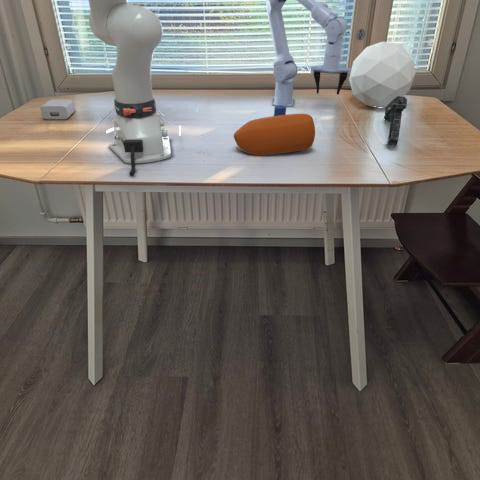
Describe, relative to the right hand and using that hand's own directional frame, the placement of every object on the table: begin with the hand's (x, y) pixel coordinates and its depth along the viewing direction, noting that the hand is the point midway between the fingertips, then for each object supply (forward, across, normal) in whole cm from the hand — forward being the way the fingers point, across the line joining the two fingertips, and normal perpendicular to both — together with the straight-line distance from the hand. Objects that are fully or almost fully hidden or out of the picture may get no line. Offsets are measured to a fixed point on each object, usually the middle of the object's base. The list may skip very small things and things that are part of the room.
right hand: (327, 93), depth 156 cm
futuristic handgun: (+7, +21, -22) cm, 31 cm away
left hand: (-32, -28, -12) cm, 45 cm away
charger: (+7, -99, -20) cm, 102 cm away
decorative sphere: (+7, +21, +11) cm, 25 cm away
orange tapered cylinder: (+7, -17, -43) cm, 47 cm away
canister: (+7, -17, -14) cm, 23 cm away
